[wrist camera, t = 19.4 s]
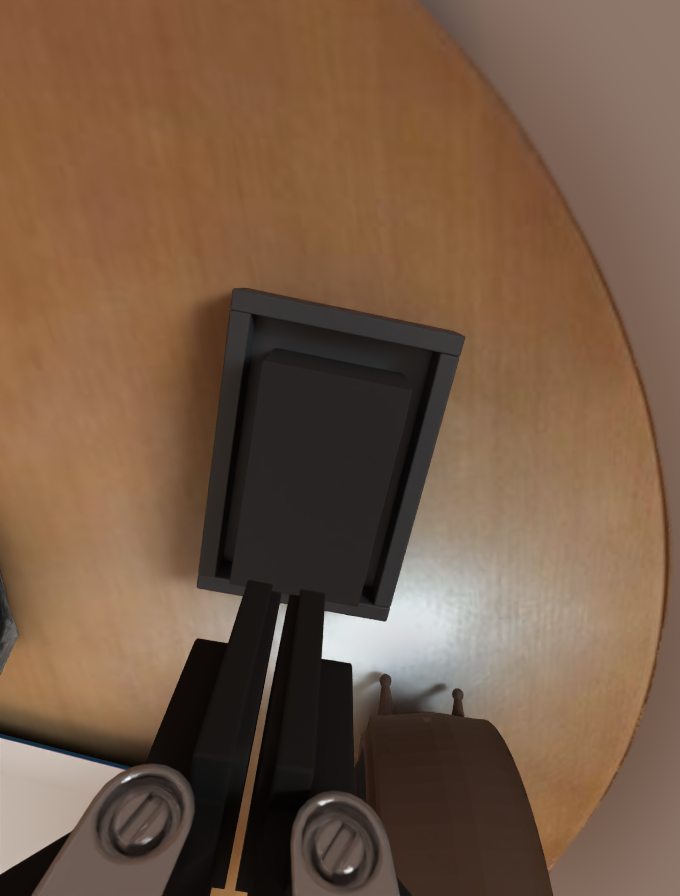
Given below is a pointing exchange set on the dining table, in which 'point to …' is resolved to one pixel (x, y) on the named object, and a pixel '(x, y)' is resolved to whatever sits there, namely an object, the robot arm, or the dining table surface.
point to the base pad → (346, 339)
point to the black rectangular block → (317, 474)
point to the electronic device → (6, 627)
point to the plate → (43, 795)
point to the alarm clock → (450, 803)
